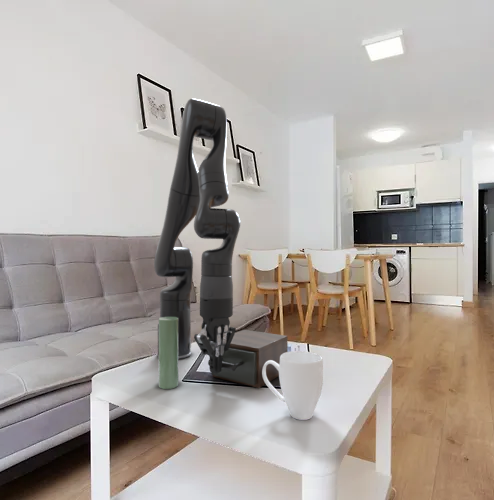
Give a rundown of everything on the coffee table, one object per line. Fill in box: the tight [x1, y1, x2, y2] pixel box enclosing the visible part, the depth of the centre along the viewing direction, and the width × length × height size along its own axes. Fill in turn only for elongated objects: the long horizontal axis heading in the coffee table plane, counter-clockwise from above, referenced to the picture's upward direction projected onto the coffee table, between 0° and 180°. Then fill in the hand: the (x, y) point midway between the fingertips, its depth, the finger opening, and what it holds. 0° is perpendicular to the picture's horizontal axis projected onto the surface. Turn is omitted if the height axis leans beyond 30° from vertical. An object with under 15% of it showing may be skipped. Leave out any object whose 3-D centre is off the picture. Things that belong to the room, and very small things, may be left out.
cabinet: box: [212, 329, 289, 389], centre depth 95 cm, size 15×14×9 cm
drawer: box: [207, 346, 257, 385], centre depth 91 cm, size 18×13×7 cm
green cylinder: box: [158, 317, 179, 390], centre depth 86 cm, size 5×5×16 cm
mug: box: [262, 350, 324, 421], centre depth 72 cm, size 12×8×11 cm
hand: (215, 372), depth 82 cm, fingers closed
